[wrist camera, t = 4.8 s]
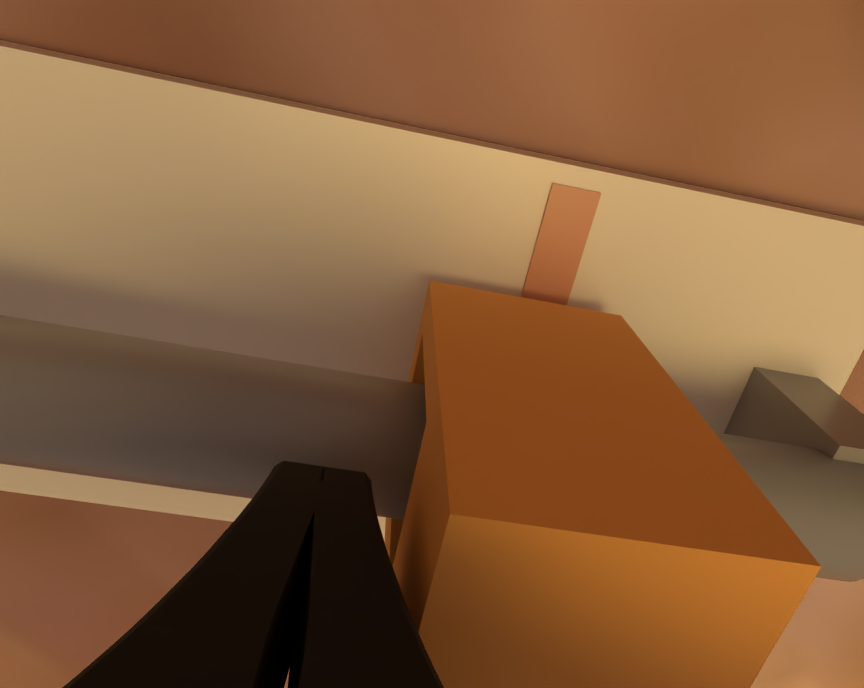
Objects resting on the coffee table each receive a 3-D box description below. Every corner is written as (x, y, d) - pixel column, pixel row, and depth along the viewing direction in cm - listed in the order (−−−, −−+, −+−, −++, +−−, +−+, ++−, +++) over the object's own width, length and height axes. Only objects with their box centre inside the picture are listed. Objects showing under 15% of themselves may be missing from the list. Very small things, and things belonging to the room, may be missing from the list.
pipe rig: (890, 226, 14) (1146, 320, 9) (720, 562, 18) (835, 754, 13) (-483, -62, 11) (-1188, -151, 6) (-326, 416, 15) (-679, 593, 10)
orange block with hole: (620, 315, 13) (821, 566, 7) (555, 501, 15) (663, 833, 9) (428, 280, 13) (450, 513, 6) (388, 477, 15) (371, 808, 8)
